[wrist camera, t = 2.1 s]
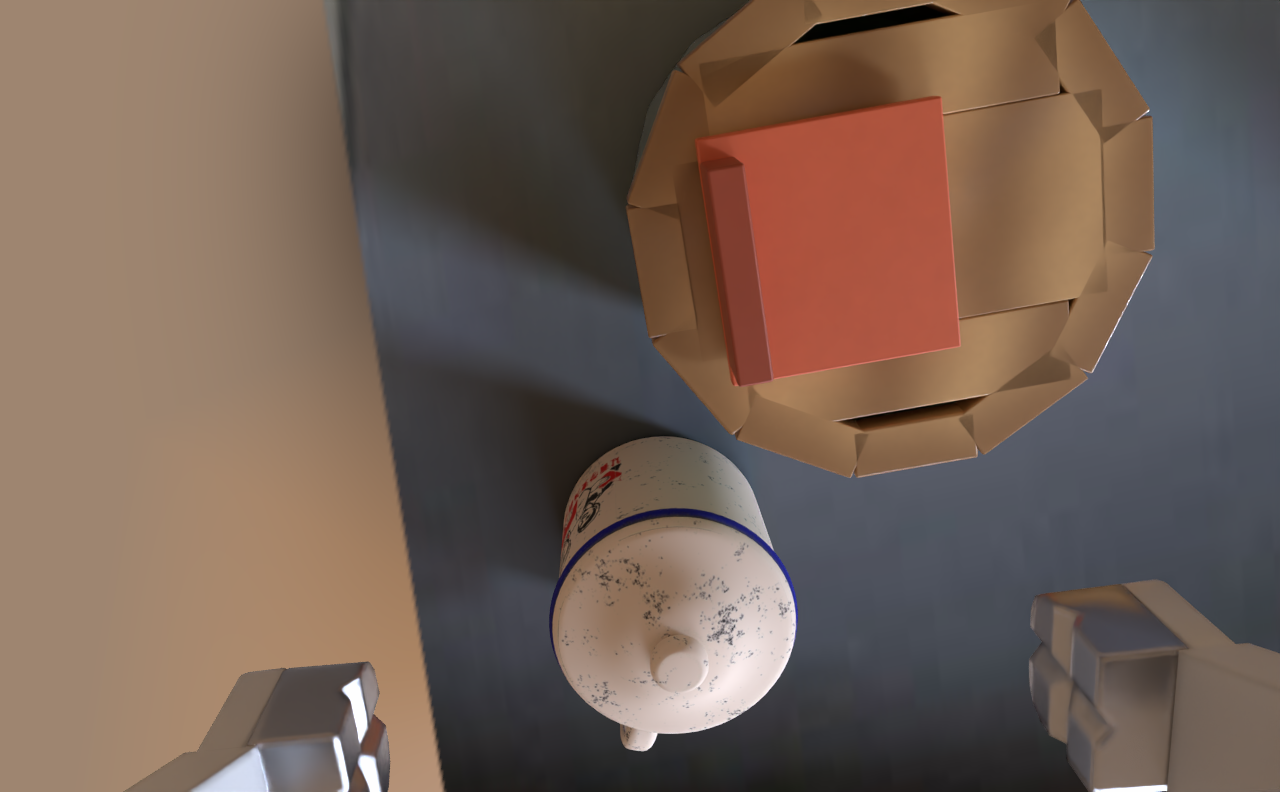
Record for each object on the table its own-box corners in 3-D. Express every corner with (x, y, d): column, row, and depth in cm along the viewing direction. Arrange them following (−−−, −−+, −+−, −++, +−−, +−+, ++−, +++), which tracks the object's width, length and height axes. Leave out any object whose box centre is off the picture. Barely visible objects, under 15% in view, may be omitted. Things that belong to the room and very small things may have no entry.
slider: (935, 95, 29) (966, 98, 26) (955, 342, 31) (985, 366, 29) (693, 138, 29) (702, 146, 27) (730, 381, 31) (741, 409, 29)
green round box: (980, -42, 39) (1117, -77, 29) (1003, 323, 44) (1129, 407, 33) (605, 27, 40) (606, 16, 29) (666, 382, 44) (686, 483, 34)
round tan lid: (1132, -95, 29) (1149, -101, 28) (1142, 416, 34) (1158, 427, 33) (590, 4, 29) (589, 2, 28) (676, 497, 34) (678, 509, 33)
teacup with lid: (577, 411, 44) (569, 529, 33) (784, 446, 45) (843, 573, 34) (533, 654, 48) (512, 834, 37) (725, 682, 49) (762, 866, 38)
